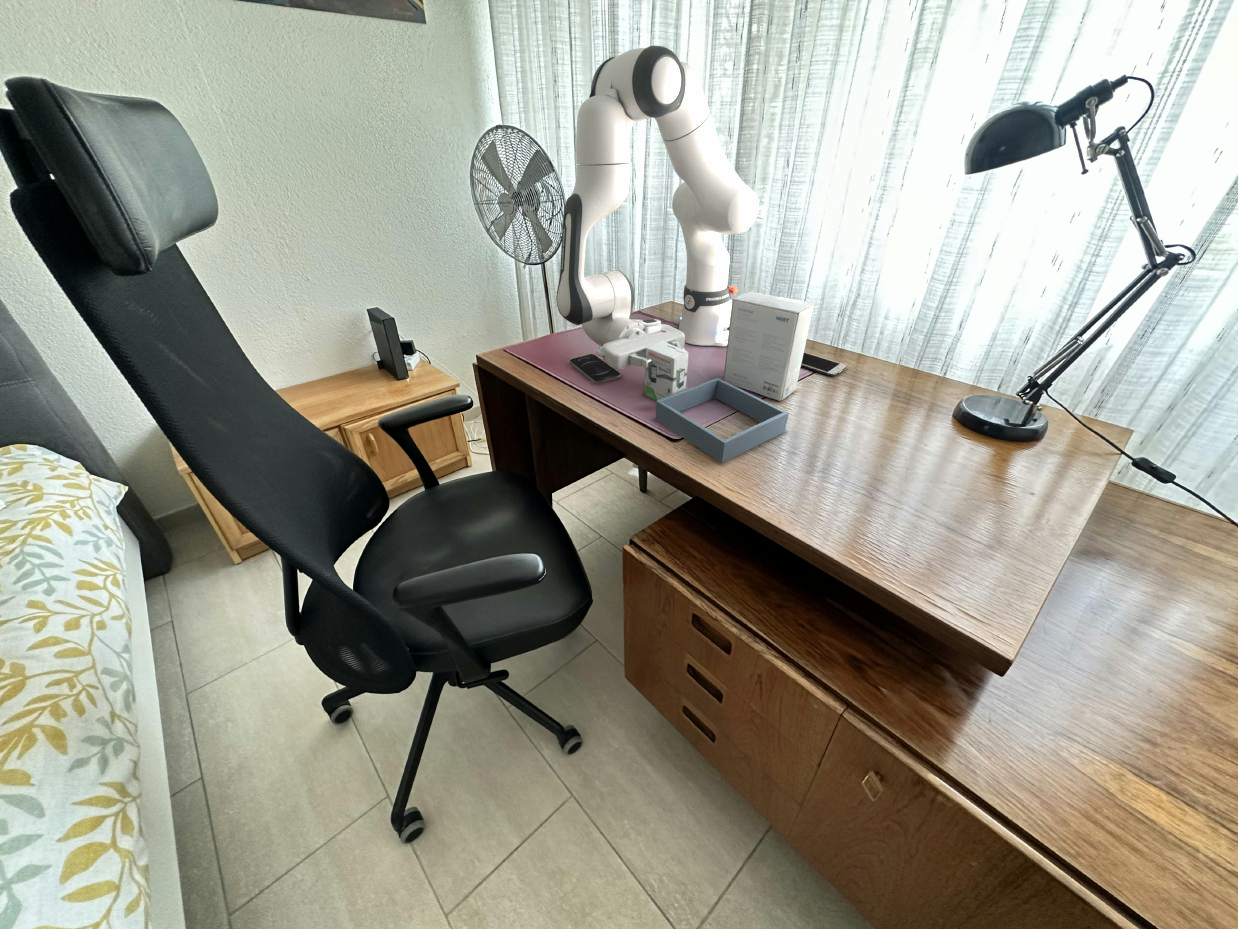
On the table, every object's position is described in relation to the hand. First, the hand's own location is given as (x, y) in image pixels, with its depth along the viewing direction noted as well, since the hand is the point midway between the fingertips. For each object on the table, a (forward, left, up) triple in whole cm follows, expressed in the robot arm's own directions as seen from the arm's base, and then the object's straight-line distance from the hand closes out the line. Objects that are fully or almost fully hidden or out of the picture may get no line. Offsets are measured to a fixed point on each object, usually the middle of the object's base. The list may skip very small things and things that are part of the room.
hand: (666, 358), depth 102 cm
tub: (-1, +16, -9) cm, 19 cm away
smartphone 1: (+5, -22, -9) cm, 24 cm away
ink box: (0, 0, -10) cm, 10 cm away
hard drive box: (-21, +9, -10) cm, 25 cm away
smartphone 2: (-41, +9, -9) cm, 43 cm away
